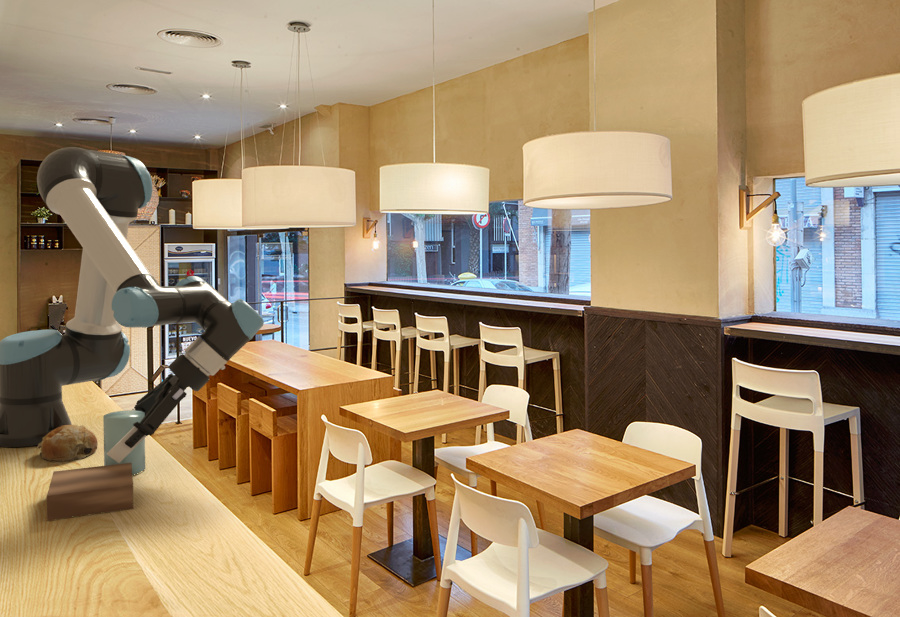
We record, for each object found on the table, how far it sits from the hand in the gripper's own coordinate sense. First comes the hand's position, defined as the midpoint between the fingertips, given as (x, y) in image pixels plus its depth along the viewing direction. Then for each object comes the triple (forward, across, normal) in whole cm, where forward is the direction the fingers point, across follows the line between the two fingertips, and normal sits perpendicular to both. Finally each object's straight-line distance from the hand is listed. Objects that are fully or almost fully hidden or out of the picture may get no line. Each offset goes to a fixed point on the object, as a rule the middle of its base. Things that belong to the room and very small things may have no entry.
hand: (112, 447), depth 120 cm
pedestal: (+6, -14, -1) cm, 15 cm away
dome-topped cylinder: (+2, 0, -5) cm, 5 cm away
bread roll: (+10, +15, +2) cm, 18 cm away
